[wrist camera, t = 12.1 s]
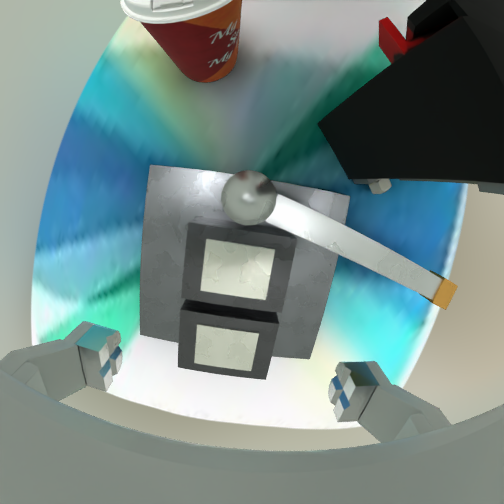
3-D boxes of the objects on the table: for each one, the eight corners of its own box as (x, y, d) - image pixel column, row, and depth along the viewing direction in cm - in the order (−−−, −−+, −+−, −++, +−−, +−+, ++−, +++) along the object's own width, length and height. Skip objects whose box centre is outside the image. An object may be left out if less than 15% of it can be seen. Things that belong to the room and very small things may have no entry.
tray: (155, 165, 24) (127, 160, 17) (344, 195, 25) (374, 199, 18) (144, 327, 28) (123, 361, 21) (306, 351, 29) (319, 389, 22)
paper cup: (247, 91, 22) (249, 3, 9) (166, 95, 22) (99, 26, 8) (248, 27, 20) (250, -68, 7) (173, 33, 20) (129, -51, 7)
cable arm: (216, 209, 18) (212, 212, 16) (235, 164, 17) (234, 161, 15) (429, 304, 20) (442, 315, 18) (445, 272, 19) (460, 280, 17)
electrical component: (358, 199, 25) (542, 242, 5) (306, 107, 23) (424, -28, 3) (462, 136, 23) (595, 128, 3) (423, 60, 21) (540, 2, 1)
